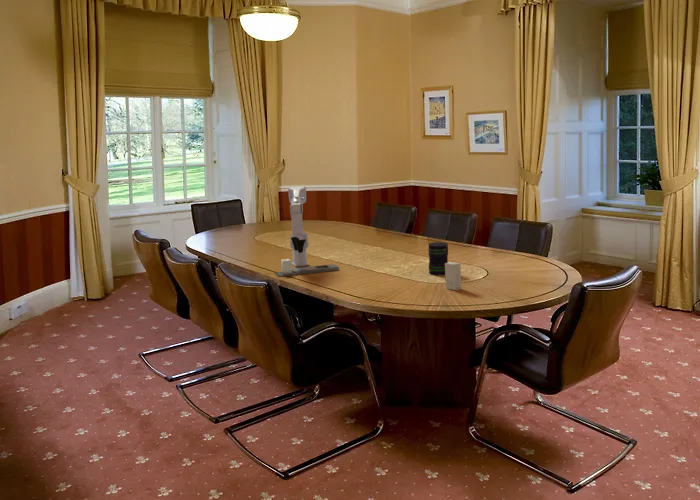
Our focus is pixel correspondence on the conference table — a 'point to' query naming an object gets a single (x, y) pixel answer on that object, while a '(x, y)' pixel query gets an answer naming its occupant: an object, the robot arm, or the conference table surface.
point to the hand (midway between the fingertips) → (298, 251)
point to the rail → (315, 269)
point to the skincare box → (453, 276)
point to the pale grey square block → (286, 266)
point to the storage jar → (437, 258)
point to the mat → (283, 274)
